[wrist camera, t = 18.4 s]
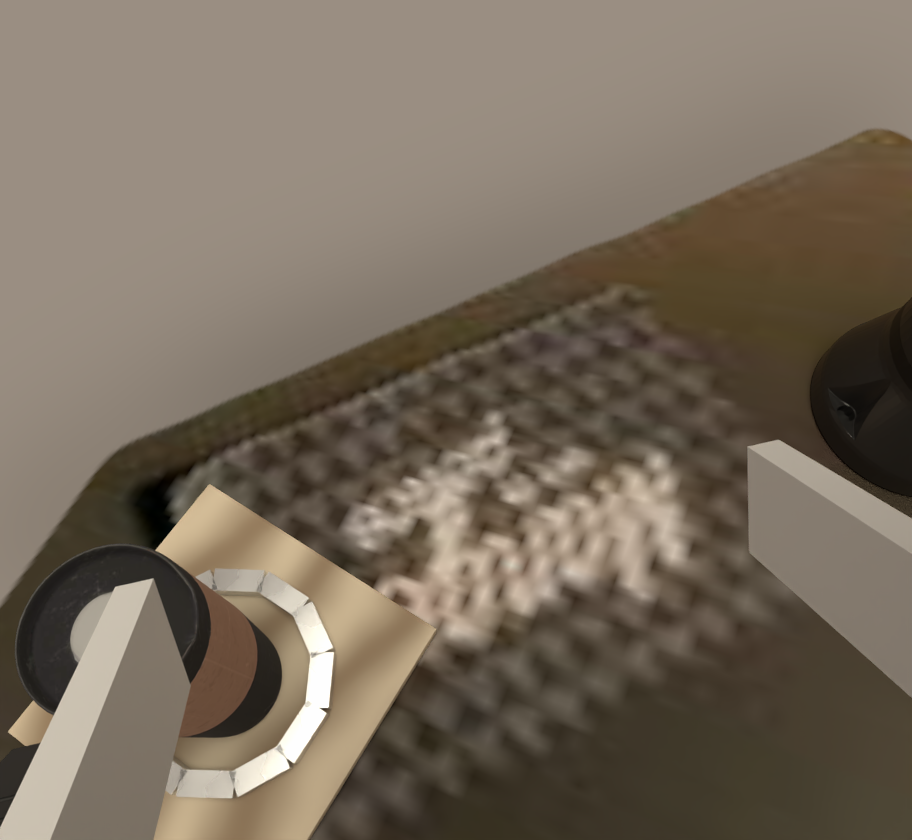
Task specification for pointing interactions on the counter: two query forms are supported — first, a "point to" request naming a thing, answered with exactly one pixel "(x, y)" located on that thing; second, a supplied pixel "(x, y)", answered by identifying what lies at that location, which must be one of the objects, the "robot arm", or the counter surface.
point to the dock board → (283, 677)
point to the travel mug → (193, 626)
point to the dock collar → (309, 717)
